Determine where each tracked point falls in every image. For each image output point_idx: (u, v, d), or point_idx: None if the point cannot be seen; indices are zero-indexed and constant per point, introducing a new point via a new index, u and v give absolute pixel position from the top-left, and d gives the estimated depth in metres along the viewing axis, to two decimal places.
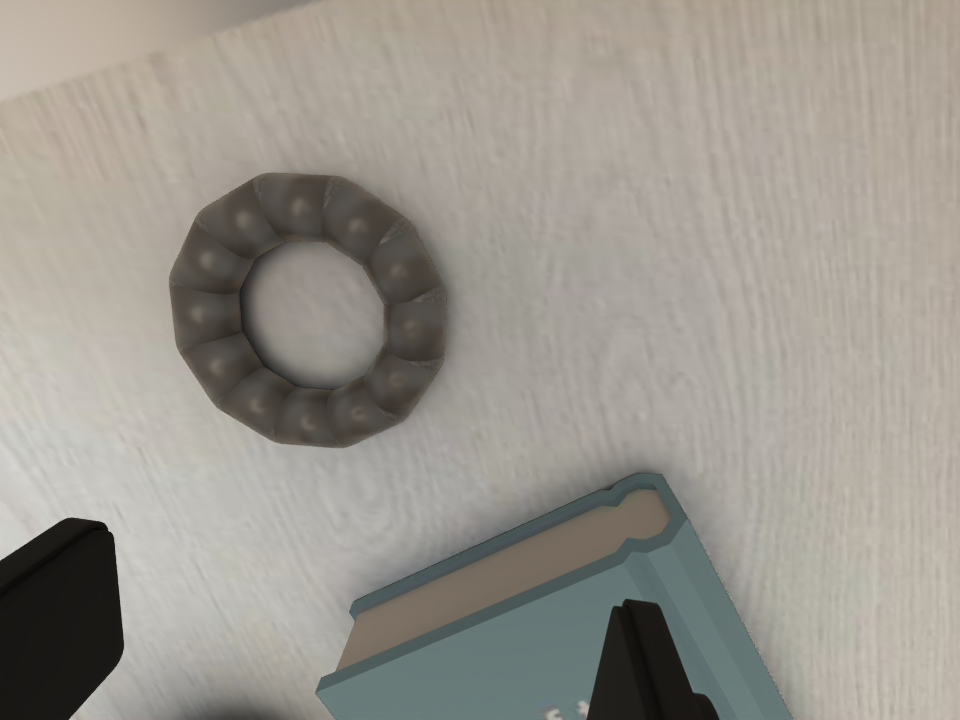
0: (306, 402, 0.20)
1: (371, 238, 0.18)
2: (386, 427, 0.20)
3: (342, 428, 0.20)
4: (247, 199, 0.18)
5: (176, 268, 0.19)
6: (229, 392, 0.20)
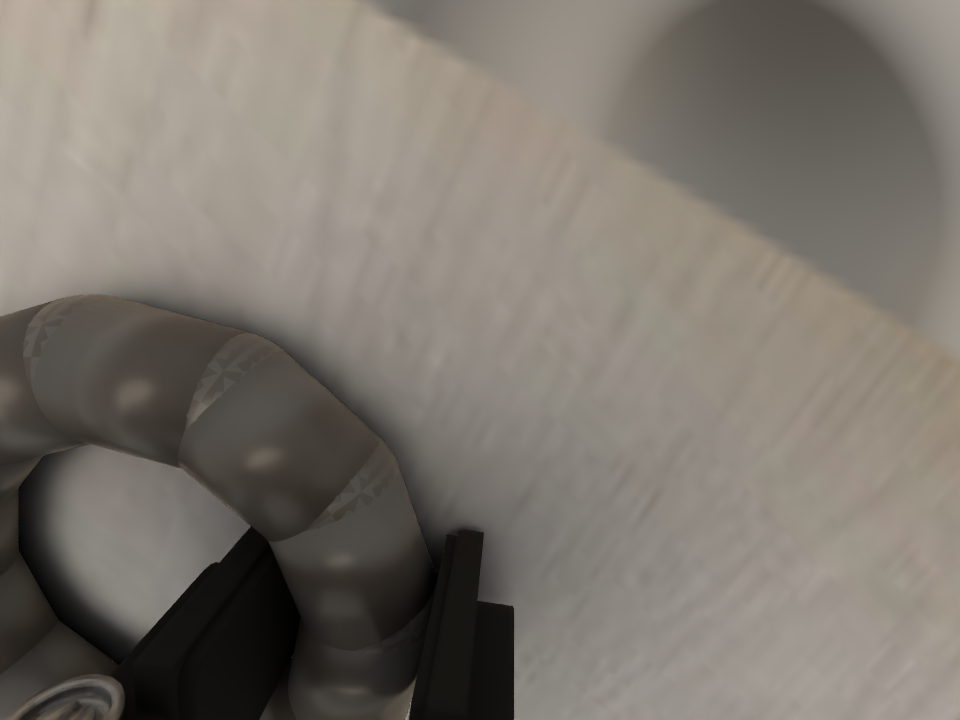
0: None
1: (348, 634, 0.08)
2: None
3: None
4: (166, 395, 0.07)
5: None
6: None
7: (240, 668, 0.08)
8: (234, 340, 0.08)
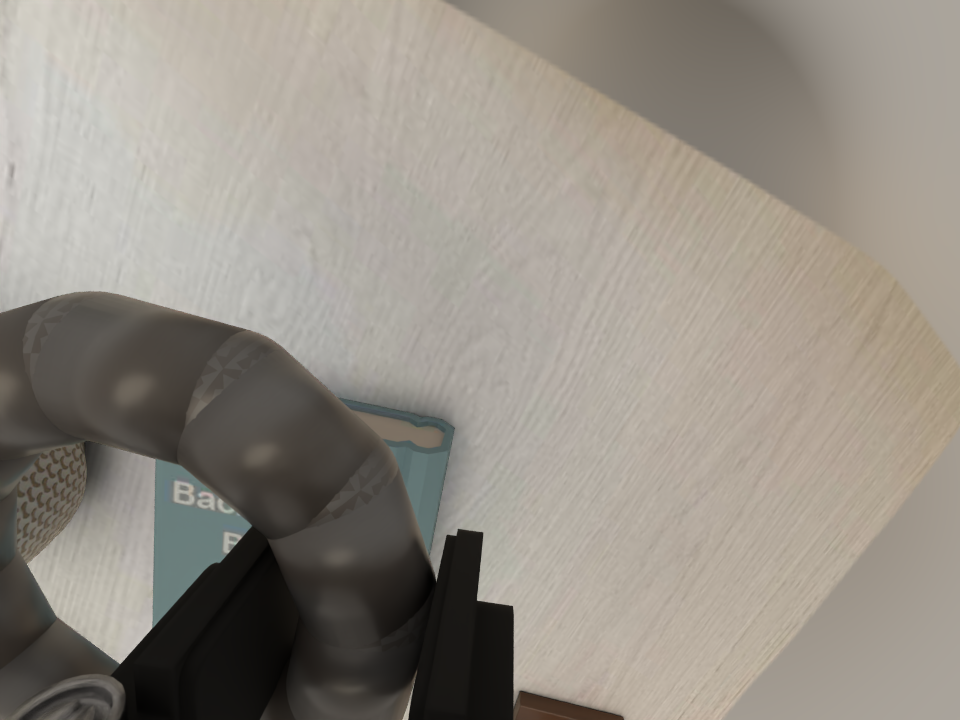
0: None
1: (346, 632, 0.08)
2: None
3: None
4: (166, 392, 0.07)
5: None
6: None
7: (241, 668, 0.08)
8: (234, 338, 0.08)
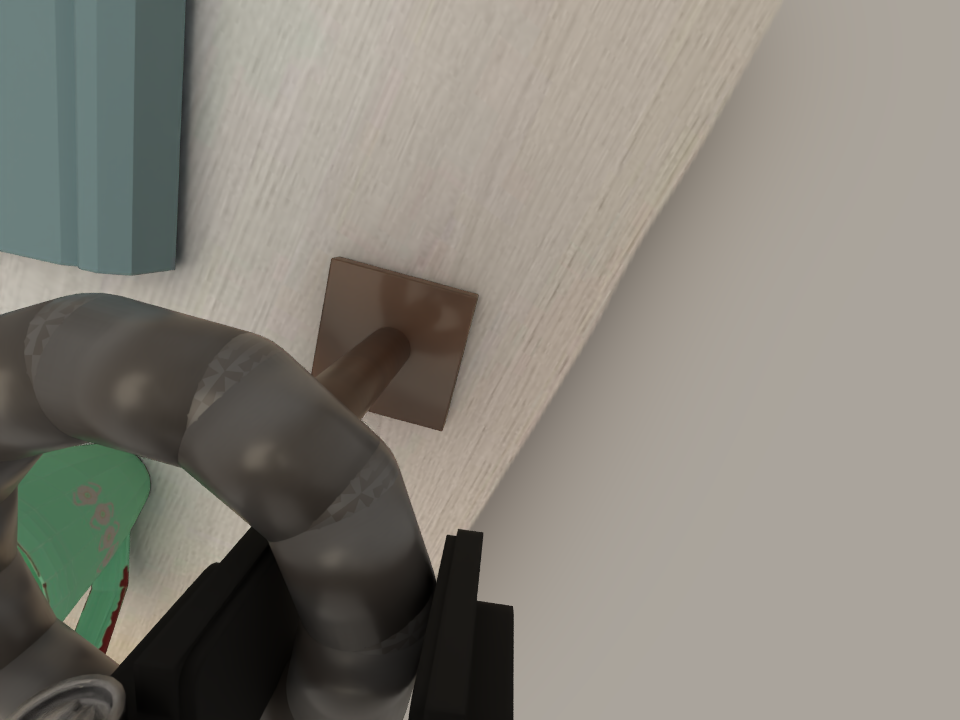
0: None
1: (347, 634, 0.08)
2: None
3: None
4: (167, 394, 0.07)
5: None
6: None
7: (240, 668, 0.08)
8: (235, 340, 0.08)
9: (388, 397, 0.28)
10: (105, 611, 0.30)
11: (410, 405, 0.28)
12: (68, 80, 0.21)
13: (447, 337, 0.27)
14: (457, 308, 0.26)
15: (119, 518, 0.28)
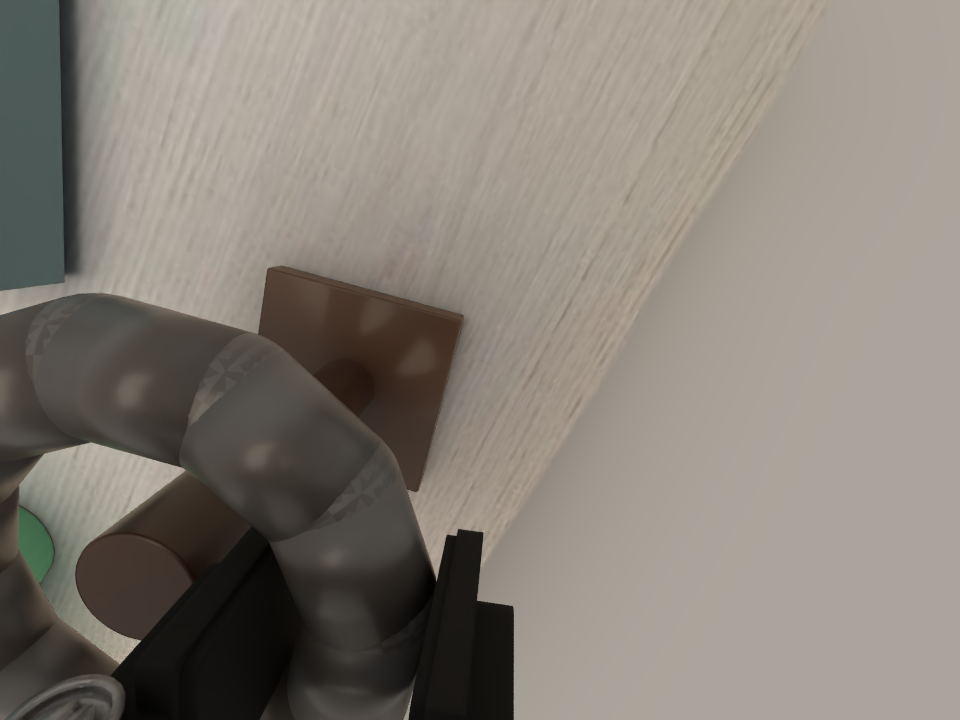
0: None
1: (348, 634, 0.08)
2: None
3: None
4: (168, 395, 0.07)
5: None
6: None
7: (240, 668, 0.08)
8: (236, 340, 0.08)
9: None
10: None
11: None
12: None
13: (422, 372, 0.20)
14: (435, 335, 0.20)
15: None
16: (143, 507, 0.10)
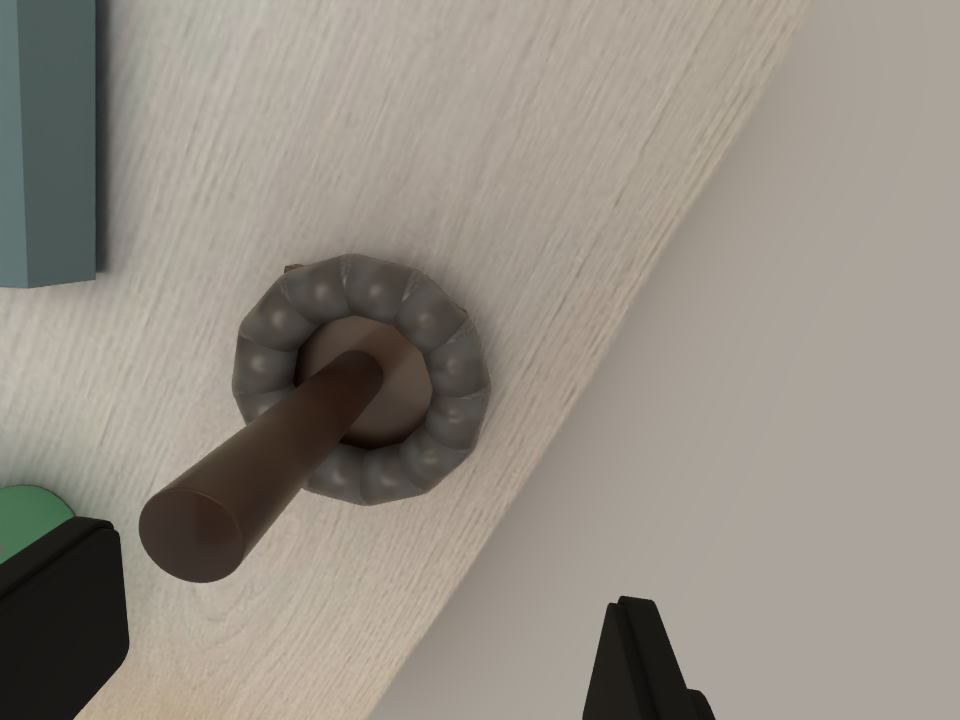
0: None
1: (458, 390, 0.20)
2: None
3: (319, 484, 0.21)
4: (395, 289, 0.19)
5: (294, 281, 0.19)
6: (254, 394, 0.20)
7: None
8: (414, 271, 0.20)
9: (357, 434, 0.23)
10: None
11: (384, 444, 0.23)
12: None
13: None
14: None
15: None
16: (194, 469, 0.11)
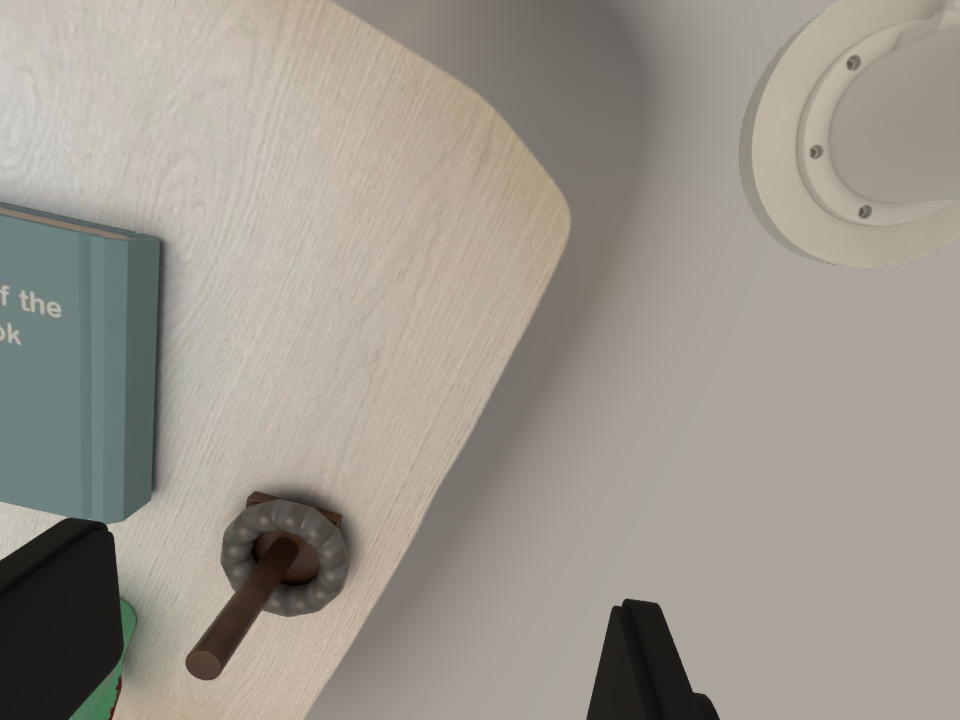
0: None
1: (329, 567, 0.41)
2: None
3: (264, 607, 0.42)
4: (296, 523, 0.40)
5: (249, 517, 0.40)
6: (231, 566, 0.42)
7: None
8: (307, 511, 0.41)
9: (286, 576, 0.44)
10: (106, 708, 0.47)
11: (300, 581, 0.44)
12: (87, 428, 0.38)
13: None
14: None
15: None
16: (204, 639, 0.33)
